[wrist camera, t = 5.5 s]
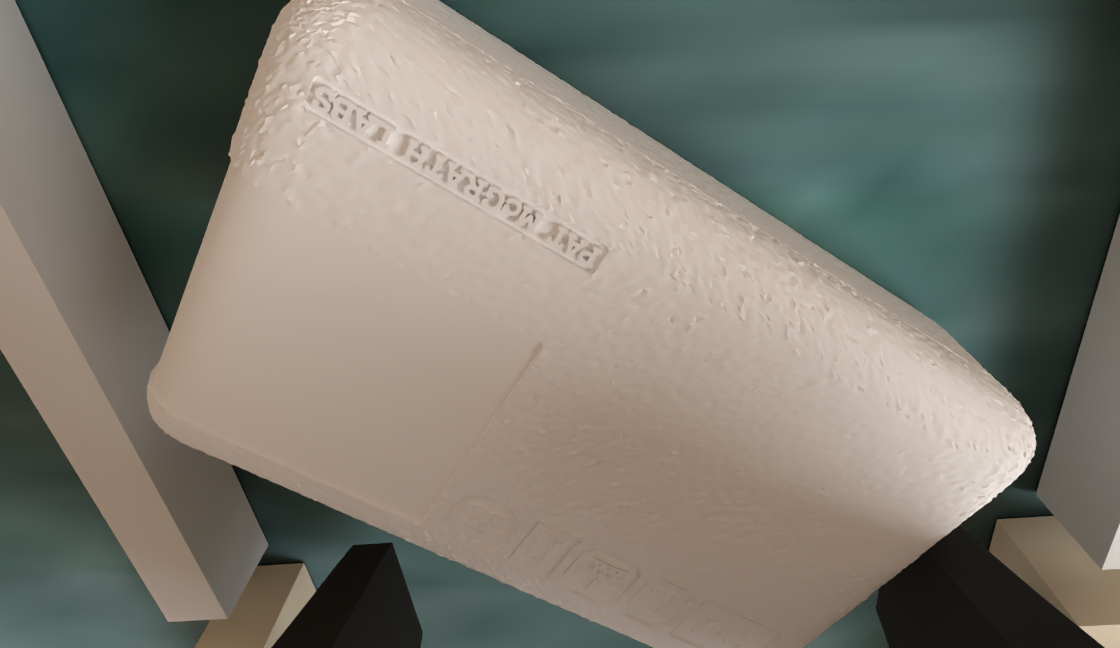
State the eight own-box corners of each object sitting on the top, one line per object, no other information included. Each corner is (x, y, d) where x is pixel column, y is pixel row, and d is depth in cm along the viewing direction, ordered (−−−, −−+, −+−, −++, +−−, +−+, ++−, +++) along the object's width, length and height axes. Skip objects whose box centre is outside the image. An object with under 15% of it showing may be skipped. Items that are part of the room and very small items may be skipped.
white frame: (1101, 489, 10) (1177, 565, 9) (215, 548, 12) (168, 621, 10) (1412, -372, 6) (1664, -478, 4) (-130, -116, 7) (-299, -137, 6)
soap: (951, 323, 9) (1098, 459, 7) (716, 549, 12) (756, 718, 9) (381, -49, 7) (268, -64, 5) (235, 313, 10) (102, 442, 7)
